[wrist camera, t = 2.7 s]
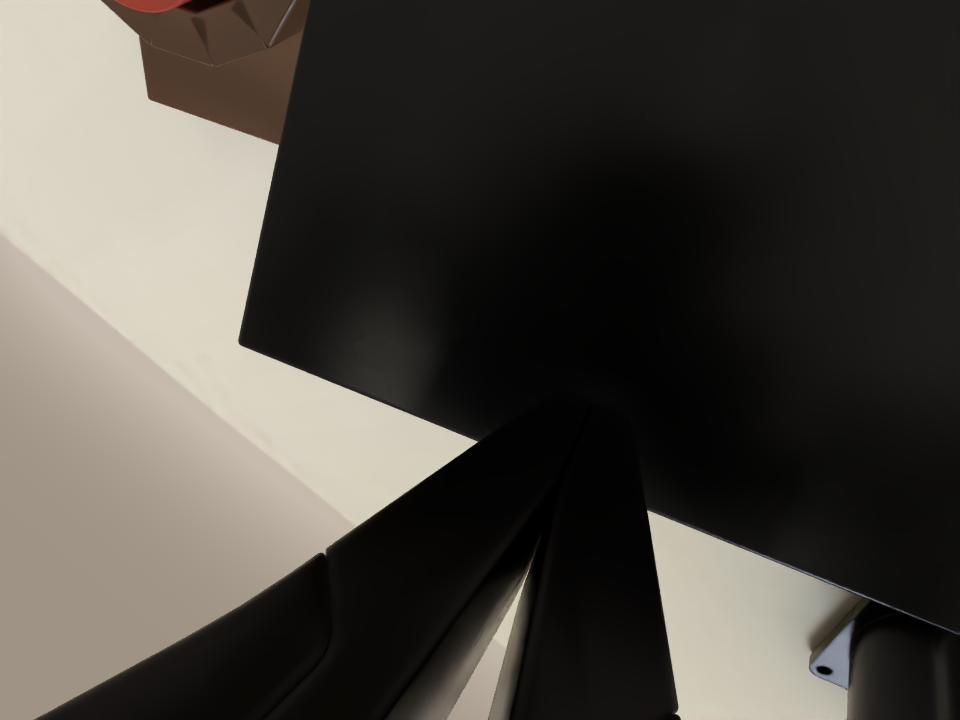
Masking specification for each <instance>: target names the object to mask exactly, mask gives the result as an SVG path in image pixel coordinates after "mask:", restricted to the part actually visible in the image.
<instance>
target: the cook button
mask: <svg viewBox="0 0 960 720" xmlns="http://www.w3.org/2000/svg"><path fill="white" fill-rule="evenodd" d="M115 1H117V2H119V3H121V4H122V5H124V6H127V7H129V8H132V9H135V10H139V11H143V12H152V13H156V12H164V11H168V10H171V9H173V8H176V7H178V6H180V5H182V4H185V3H187V2H189V1H192V0H115Z"/></svg>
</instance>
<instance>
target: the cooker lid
mask: <svg viewBox="0 0 960 720" xmlns="http://www.w3.org/2000/svg"><path fill="white" fill-rule="evenodd" d="M238 341H239V344H240V345H241V346H243V347H246V348H248V349H251V350H253V351H256V352H258V353H261V354H263V355H266V356H268V357H271V358H273V359H276V360H278V361H280V362H283V363H285V364H288V365H290V366H293V367H295V368H298V369H300V370H303V371H305V372H308V373H310V374H313V375H315V376H318V377H320V378H322V379H325V380H327V381H330V382H332V383H335V384H337V385H340V386H342V387H345V388H347V389H350V390H352V391H355V392H357V393H360V394H362V395H364V396H367V397H369V398H372V399H374V400H377V401H379V402H382V403H384V404H387V405H389V406H392V407H394V408H397V409H399V410H402V411H404V412H406V413H409V414H411V415H414V416H416V417H419V418H421V419H424V420H426V421H429V422H431V423H434V424H436V425H439V426H441V427H444V428H446V429H449V430H451V431H453V432H456V433H458V434H461V435H463V436H466V437H468V438H471V439H473V440H476V441H478V442H479V441H480V440H482V439H483V438H485V437H486V436H488V435H489V434H491V433H492V432H493V431H495V430H496V429H498V428H499V427H501V426H502V425H503V424H505V423H506V422H508V421H509V420H511V419H512V418H513V417H515V416H516V415H518V414H519V413H521V412H522V411H523V410H525V409H526V408H528V407H529V406H531V405H532V404H533V403H535V402H536V401H538V400H539V399H541V398H542V397H543V396H545V395H546V394H548V393H549V392H551V391H552V390H554V389H556V388H564V389H567V390H569V391H572V392H575V393H577V394H580V395H582V396H585V397H588V398H589V399H590V400H591V401H592V407H593V405H594V404H596V403H603V404H606V405H608V406H611V407H613V408H616V409H618V410H621V411H624V412H626V413H628V414H629V415H630V416H631V418H632V420H633V425H634V431H635V438H636V444H637V450H638V456H639V463H640V469H641V475H642V481H643V488H644V494H645V500H646V507H647V510H649V511H651V512H654V513H656V514H659V515H661V516H664V517H666V518H668V519H671V520H673V521H676V522H678V523H681V524H683V525H686V526H688V527H691V528H693V529H696V530H698V531H701V532H703V533H706V534H708V535H710V536H713V537H715V538H718V539H720V540H723V541H725V542H728V543H730V544H733V545H735V546H738V547H740V548H743V549H745V550H748V551H750V552H752V553H755V554H757V555H760V556H762V557H765V558H767V559H770V560H772V561H775V562H777V563H780V564H782V565H785V566H787V567H790V568H792V569H794V570H797V571H799V572H802V573H804V574H807V575H809V576H812V577H814V578H817V579H819V580H822V581H824V582H827V583H829V584H832V585H834V586H837V587H839V588H841V589H844V590H846V591H849V592H851V593H854V594H856V595H859V596H861V597H864V598H866V599H869V600H871V601H874V602H876V603H879V604H881V605H883V606H886V607H888V608H891V609H893V610H896V611H898V612H901V613H903V614H906V615H908V616H911V617H913V618H916V619H918V620H921V621H923V622H925V623H928V624H930V625H933V626H935V627H938V628H940V629H943V630H945V631H948V632H950V633H953V634H955V635H958V636H960V0H309V4H308V9H307V14H306V19H305V23H304V28H303V33H302V38H301V43H300V47H299V52H298V57H297V62H296V66H295V71H294V76H293V81H292V86H291V90H290V95H289V100H288V105H287V110H286V114H285V119H284V124H283V129H282V134H281V138H280V143H279V148H278V153H277V158H276V162H275V167H274V172H273V177H272V181H271V186H270V191H269V196H268V201H267V205H266V210H265V215H264V220H263V225H262V229H261V234H260V239H259V244H258V249H257V253H256V258H255V263H254V268H253V273H252V277H251V282H250V287H249V292H248V296H247V301H246V306H245V311H244V316H243V320H242V325H241V330H240V335H239V340H238Z"/></svg>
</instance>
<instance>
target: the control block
mask: <svg viewBox="0 0 960 720" xmlns="http://www.w3.org/2000/svg"><path fill="white" fill-rule="evenodd" d="M101 1H102V2H103V3H105V4H106V5H107V6H108V7H109V8H110V9H111V10H112V11H113V12H114V13H115V14H116V15H118V16H119V17H120V18H121V19H122V20H123V21H124V22H125V23H126V24H127V25H128V26H129V27H131V28H132V29H133V30H134V31H135V32H136V33H137V34H138V35H139V40H140V46H141V53H142V60H143V66H144V73H145V80H146V86H147V93H148V98H149V99H150V100H152V101H155V102H158V103H160V104H163V105H166V106H169V107H172V108H175V109H178V110H181V111H183V112H186V113H189V114H192V115H195V116H198V117H201V118H203V119H206V120H209V121H212V122H215V123H218V124H221V125H224V126H226V127H229V128H232V129H235V130H238V131H241V132H244V133H247V134H249V135H252V136H255V137H258V138H261V139H264V140H267V141H269V142H272V143H275V144H278V145H279V143H280V138H281V134H282V129H283V124H284V119H285V114H286V110H287V105H288V100H289V95H290V90H291V86H292V81H293V76H294V71H295V66H296V62H297V57H298V52H299V47H300V43H301V38H302V33H303V28H304V23H305V19H306V14H307V9H308V4H309V0H192V1H189V2H187V3H185V4H182V5H180V6H178V7H176V8H173V9H171V10H168V11H164V12H156V13H152V12H143V11H139V10H135V9H132V8H129V7H127V6H124V5H122V4H121V3H119V2H117V1H115V0H101Z"/></svg>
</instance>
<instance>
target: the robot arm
mask: <svg viewBox="0 0 960 720" xmlns="http://www.w3.org/2000/svg"><path fill="white" fill-rule="evenodd" d="M529 568H530V569H529ZM528 570H529V572H528ZM527 572H528V575H527ZM526 575H527V577H526ZM525 577H526V580H525V583H524V586H523V589H522V593H521V596H520V600H519V603H518V606H517V610H516V614H515V618H514V622H513V626H512V629H511V633H510V637H509V641H508V645H507V648H506V652H505V656H504V660H503V664H502V668H501V671H500V675H499V679H498V683H497V687H496V691H495V694H494V698H493V702H492V706H491V710H490V714H489V718H488V720H681V718H680V717H679V716H678V715H677V714H675V713H676V712H677V710H678V701H677V695H676V689H675V682H674V676H673V670H672V664H671V657H670V651H669V645H668V639H667V632H666V626H665V620H664V613H663V607H662V601H661V595H660V588H659V582H658V576H657V569H656V563H655V557H654V551H653V544H652V538H651V532H650V525H649V519H648V513H647V507H646V500H645V494H644V488H643V481H642V475H641V469H640V463H639V456H638V450H637V444H636V438H635V431H634V425H633V420H632V418H631V416H630V415H629V414H628V413H626V412H624V411H621V410H618V409H616V408H613V407H611V406H608V405H606V404H603V403H596V404H594V405H593V407H592V401H591V400H590V399H589V398H588V397H585V396H582V395H580V394H577V393H575V392H572V391H569V390H567V389H564V388H556V389H554V390H552V391H551V392H549V393H548V394H546V395H545V396H543V397H542V398H541V399H539V400H538V401H536V402H535V403H533V404H532V405H531V406H529V407H528V408H526V409H525V410H523V411H522V412H521V413H519V414H518V415H516V416H515V417H513V418H512V419H511V420H509V421H508V422H506V423H505V424H503V425H502V426H501V427H499V428H498V429H496V430H495V431H493V432H492V433H491V434H489V435H488V436H486V437H485V438H483V439H482V440H480V441H479V442H478V443H476V444H475V445H473V446H472V447H470V448H469V449H468V450H466V451H465V452H463V453H462V454H460V455H459V456H458V457H456V458H455V459H453V460H452V461H450V462H449V463H448V464H446V465H445V466H443V467H442V468H440V469H439V470H438V471H436V472H435V473H433V474H432V475H430V476H429V477H428V478H426V479H425V480H423V481H422V482H420V483H419V484H418V485H416V486H415V487H413V488H412V489H410V490H409V491H408V492H406V493H405V494H403V495H402V496H400V497H399V498H398V499H396V500H395V501H393V502H392V503H390V504H389V505H387V506H386V507H385V508H383V509H382V510H380V511H379V512H377V513H376V514H375V515H373V516H372V517H370V518H369V519H367V520H366V521H365V522H363V523H362V524H360V525H359V526H357V527H356V528H355V529H353V530H352V531H351V532H349V533H347V534H346V535H345V536H343V537H342V538H340V539H339V540H337V541H336V542H335V543H333V544H332V545H330V546H329V547H328V548H327V549H326V555H325V554H324V553H318V554H317V555H315V556H314V557H313V558H311V559H310V560H308V561H307V562H305V563H304V564H303V565H301V566H300V567H298V568H297V569H295V570H294V571H293V572H291V573H290V574H288V575H287V576H285V577H284V578H282V579H281V580H279V581H278V582H276V583H275V584H273V585H271V586H270V587H268V588H267V589H265V590H264V591H262V592H261V593H259V594H258V595H256V596H255V597H253V598H252V599H250V600H249V601H247V602H245V603H244V604H242V605H241V606H239V607H237V608H236V609H234V610H232V611H231V612H229V613H227V614H225V615H224V616H222V617H220V618H218V619H217V620H215V621H213V622H211V623H210V624H208V625H206V626H205V627H203V628H201V629H199V630H198V631H196V632H194V633H192V634H191V635H189V636H187V637H185V638H184V639H182V640H180V641H178V642H176V643H174V644H173V645H171V646H169V647H167V648H165V649H164V650H162V651H160V652H158V653H156V654H154V655H152V656H150V657H149V658H147V659H145V660H143V661H141V662H140V663H138V664H136V665H134V666H132V667H130V668H129V669H127V670H125V671H123V672H121V673H119V674H117V675H116V676H114V677H112V678H110V679H108V680H106V681H105V682H103V683H101V684H99V685H97V686H95V687H94V688H92V689H90V690H88V691H86V692H84V693H83V694H81V695H79V696H77V697H75V698H73V699H72V700H70V701H68V702H66V703H64V704H62V705H61V706H59V707H57V708H55V709H53V710H51V711H50V712H48V713H46V714H44V715H42V716H40V717H38V718H36V719H34V720H447V718H448V716H449V714H450V712H451V711H452V709H453V707H454V705H455V704H456V702H457V700H458V698H459V697H460V695H461V693H462V691H463V689H464V688H465V686H466V684H467V682H468V681H469V679H470V677H471V675H472V674H473V672H474V670H475V668H476V666H477V665H478V663H479V661H480V659H481V657H482V656H483V654H484V652H485V651H486V649H487V647H488V645H489V644H490V642H491V640H492V638H493V636H494V635H495V633H496V631H497V629H498V628H499V626H500V624H501V622H502V621H503V619H504V617H505V615H506V613H507V612H508V610H509V608H510V606H511V605H512V603H513V601H514V599H515V597H516V595H517V593H518V591H519V589H520V588H521V586H522V584H523V581H524V579H525ZM809 669H810V671H811V672H812V673H813V674H814V675H816V676H818V677H820V678H822V679H824V680H827V681H829V682H831V683H834V684H836V685H839V686H841V687H843V688H846V689H848V703H847V720H960V636H958V635H955V634H953V633H950V632H948V631H945V630H943V629H940V628H938V627H935V626H933V625H930V624H928V623H925V622H923V621H921V620H918V619H916V618H913V617H911V616H908V615H906V614H903V613H901V612H898V611H896V610H893V609H891V608H888V607H886V606H883V605H881V604H879V603H876V602H874V601H871V600H869V599H866V598H863V599H862V600H861V601H860V602H859V603H858V604H857V605H856V606H855V608H854V609H853V610H852V611H851V612H850V613H849V614H848V615H847V616H846V617H845V618H844V619H843V620H842V622H841V623H840V624H839V625H838V626H837V627H836V628H835V629H834V630H833V631H832V632H831V633H830V635H829V636H828V637H827V638H826V639H825V640H824V641H823V642H822V643H821V644H820V645H819V646H818V648H817V649H816V650H815V651H814V652H813V653H812V654H811V656H810V660H809Z"/></svg>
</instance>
